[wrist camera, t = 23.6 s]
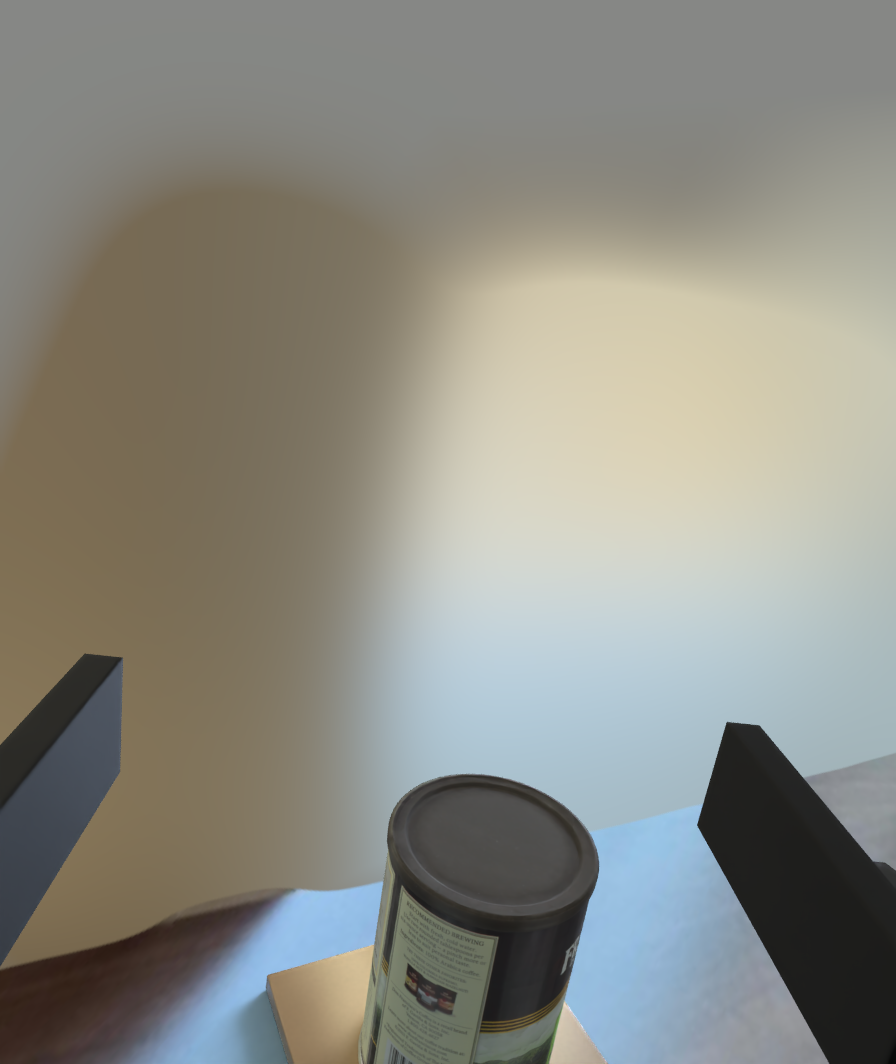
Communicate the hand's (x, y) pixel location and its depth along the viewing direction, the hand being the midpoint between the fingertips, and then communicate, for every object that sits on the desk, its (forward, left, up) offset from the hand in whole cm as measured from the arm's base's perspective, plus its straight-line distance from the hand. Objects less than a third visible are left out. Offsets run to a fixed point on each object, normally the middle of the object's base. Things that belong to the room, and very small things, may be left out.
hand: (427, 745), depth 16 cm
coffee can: (-2, +17, -29) cm, 34 cm away
